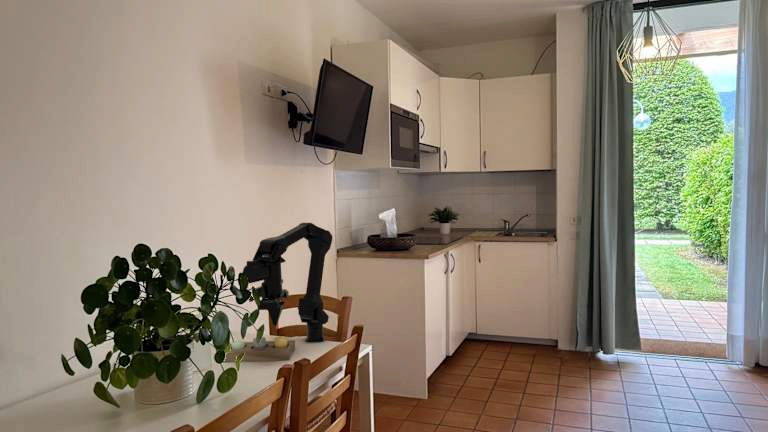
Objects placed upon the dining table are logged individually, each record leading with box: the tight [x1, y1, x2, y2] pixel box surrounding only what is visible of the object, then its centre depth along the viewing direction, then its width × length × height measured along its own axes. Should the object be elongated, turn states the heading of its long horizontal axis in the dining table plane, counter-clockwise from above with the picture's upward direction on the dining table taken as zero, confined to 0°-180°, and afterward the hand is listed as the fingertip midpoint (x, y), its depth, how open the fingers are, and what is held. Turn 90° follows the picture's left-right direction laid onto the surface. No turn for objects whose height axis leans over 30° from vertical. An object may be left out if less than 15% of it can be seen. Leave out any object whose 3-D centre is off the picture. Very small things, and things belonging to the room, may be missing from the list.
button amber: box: [274, 335, 288, 348], centre depth 175 cm, size 4×4×4 cm
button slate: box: [252, 337, 267, 349], centre depth 175 cm, size 4×4×4 cm
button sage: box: [231, 340, 245, 349], centre depth 175 cm, size 4×4×4 cm
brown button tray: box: [224, 339, 296, 363], centre depth 175 cm, size 12×21×3 cm, turn 90°
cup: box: [192, 312, 212, 372], centre depth 164 cm, size 8×8×16 cm
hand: (275, 325), depth 175 cm, fingers closed
